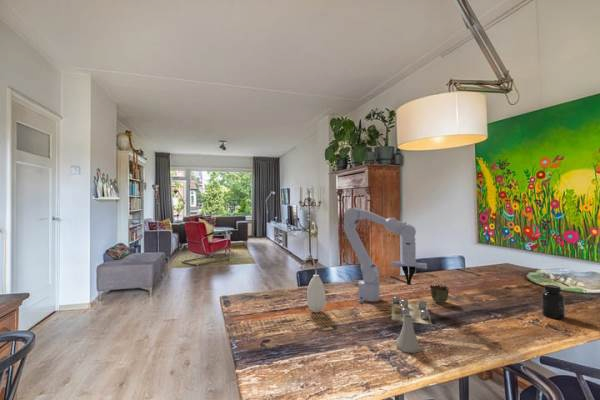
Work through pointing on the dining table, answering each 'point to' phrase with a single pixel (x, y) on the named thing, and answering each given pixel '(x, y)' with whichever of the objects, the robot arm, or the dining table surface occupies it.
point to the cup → (439, 293)
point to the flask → (408, 336)
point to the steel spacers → (406, 310)
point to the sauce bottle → (316, 294)
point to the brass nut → (397, 308)
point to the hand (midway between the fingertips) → (408, 283)
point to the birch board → (412, 311)
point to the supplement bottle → (553, 302)
